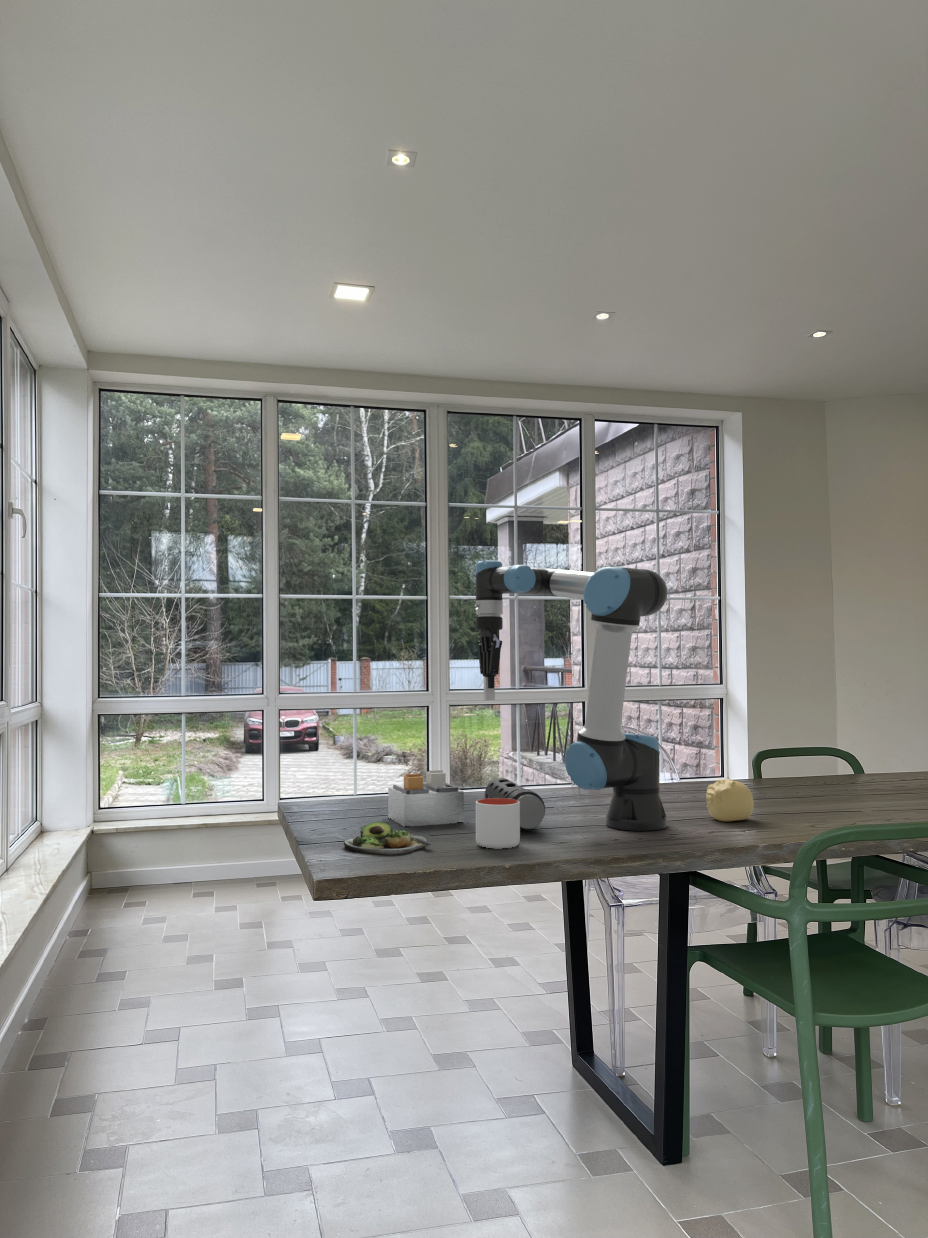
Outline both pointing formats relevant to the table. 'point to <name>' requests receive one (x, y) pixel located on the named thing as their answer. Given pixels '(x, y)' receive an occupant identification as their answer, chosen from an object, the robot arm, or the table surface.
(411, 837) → the salad plate
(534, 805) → the muzzle brake
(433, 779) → the toggle white
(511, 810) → the cup
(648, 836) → the table surface
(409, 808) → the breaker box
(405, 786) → the toggle orange
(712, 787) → the sculpture
